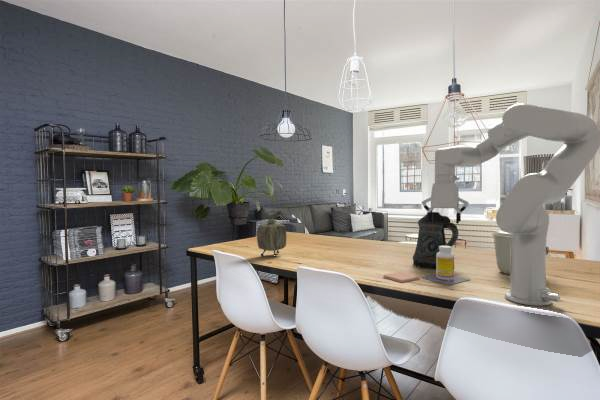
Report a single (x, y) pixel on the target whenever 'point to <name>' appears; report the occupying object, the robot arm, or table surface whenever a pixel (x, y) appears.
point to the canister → (503, 250)
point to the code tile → (447, 282)
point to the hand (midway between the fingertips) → (444, 222)
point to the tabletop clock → (271, 235)
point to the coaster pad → (401, 277)
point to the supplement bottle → (445, 263)
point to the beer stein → (432, 239)
